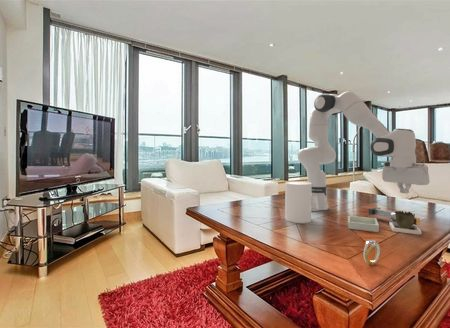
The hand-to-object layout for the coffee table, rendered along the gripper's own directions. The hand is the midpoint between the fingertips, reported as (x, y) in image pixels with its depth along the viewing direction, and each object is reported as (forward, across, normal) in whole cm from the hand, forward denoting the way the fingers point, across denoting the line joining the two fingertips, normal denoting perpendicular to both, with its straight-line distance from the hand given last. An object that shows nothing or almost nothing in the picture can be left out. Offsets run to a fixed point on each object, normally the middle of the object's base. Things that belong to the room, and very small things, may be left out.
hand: (404, 193), depth 115 cm
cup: (+17, 0, 0) cm, 17 cm away
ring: (+18, -24, +43) cm, 53 cm away
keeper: (+17, 0, 0) cm, 17 cm away
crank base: (+17, +7, -4) cm, 19 cm away
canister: (+16, +29, +38) cm, 51 cm away
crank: (+14, +9, -4) cm, 17 cm away
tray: (+17, +9, +15) cm, 24 cm away
